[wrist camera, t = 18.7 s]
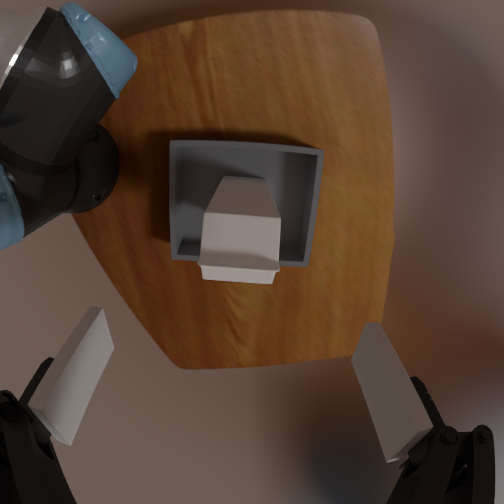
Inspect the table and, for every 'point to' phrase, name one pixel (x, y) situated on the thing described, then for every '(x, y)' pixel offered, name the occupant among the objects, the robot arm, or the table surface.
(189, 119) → the table surface
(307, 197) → the bin
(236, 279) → the milk
